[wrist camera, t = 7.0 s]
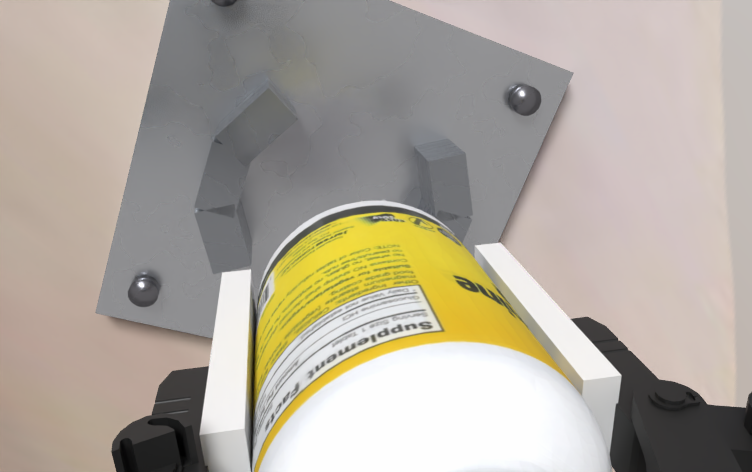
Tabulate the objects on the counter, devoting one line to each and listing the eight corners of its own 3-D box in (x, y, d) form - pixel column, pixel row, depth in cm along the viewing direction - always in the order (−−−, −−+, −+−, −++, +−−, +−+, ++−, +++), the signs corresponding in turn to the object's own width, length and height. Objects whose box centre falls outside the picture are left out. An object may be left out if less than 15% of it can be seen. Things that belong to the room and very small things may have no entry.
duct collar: (100, 302, 28) (79, 344, 24) (191, -77, 23) (179, -86, 20) (428, 374, 32) (447, 418, 29) (563, 69, 27) (603, 81, 24)
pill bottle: (499, 333, 19) (767, 729, 9) (315, 419, 19) (373, 908, 9) (426, 153, 17) (684, 420, 6) (214, 252, 17) (141, 672, 6)
